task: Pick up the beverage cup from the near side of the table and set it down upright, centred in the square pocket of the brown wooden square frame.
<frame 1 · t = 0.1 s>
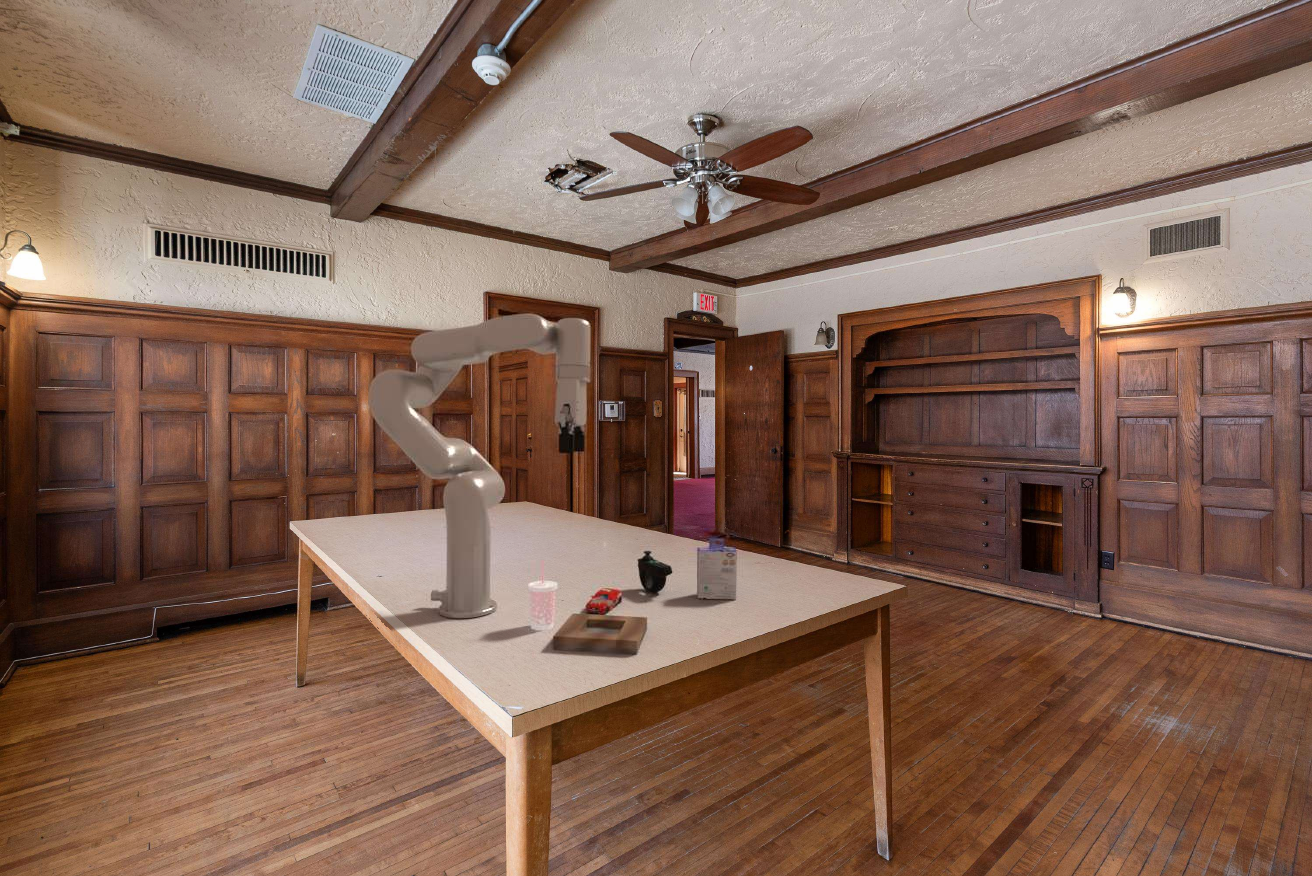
hand: (572, 452, 130), 37 cm above the table, tool pointing down, fingers open, 9 cm apart
race car: (604, 608, 138), on the table
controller: (653, 593, 150), on the table
beverage cup: (542, 627, 123), on the table
brown wooden square frame: (602, 638, 116), on the table
ink cartridge box: (716, 597, 148), on the table
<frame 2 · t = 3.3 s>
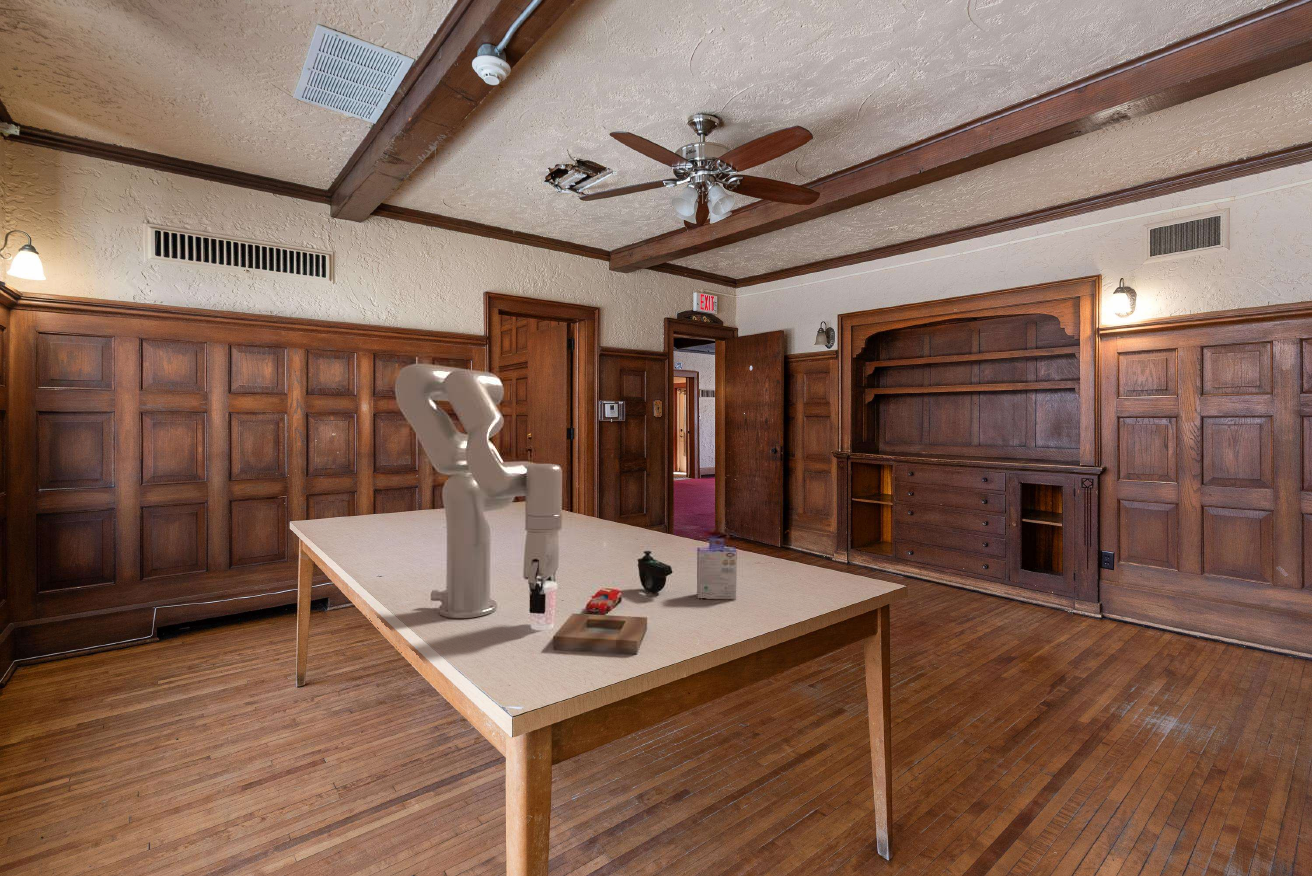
hand: (542, 607, 123), 4 cm above the table, tool pointing down, fingers closed on beverage cup, 6 cm apart
beverage cup: (542, 627, 123), on the table, touching gripper
everything else where it was.
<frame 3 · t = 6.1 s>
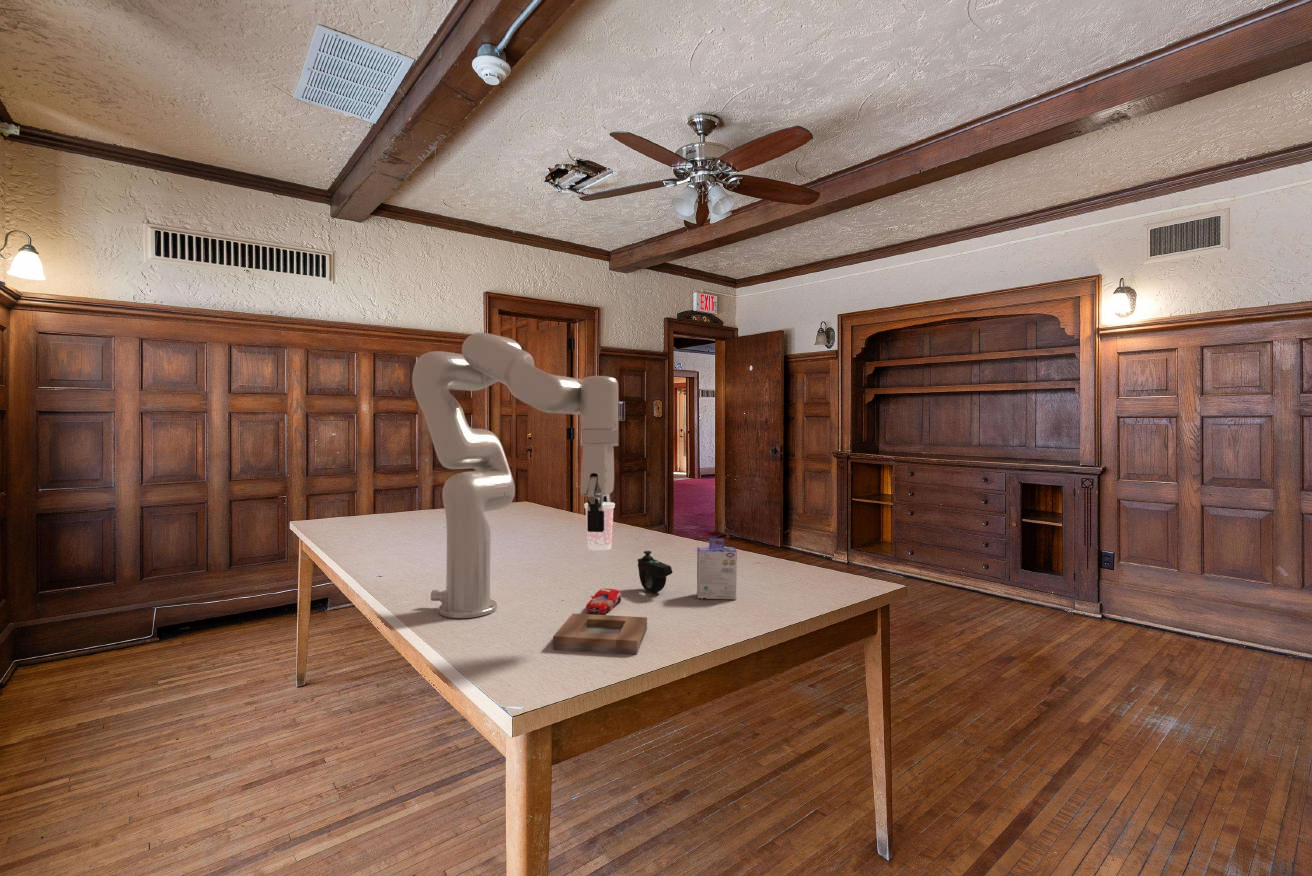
hand: (599, 528, 117), 22 cm above the table, tool pointing down, fingers closed on beverage cup, 6 cm apart
beverage cup: (599, 549, 117), point 18 cm above the table, touching gripper
everything else where it was.
when the fingers open (6 cm above the table, at t = 8.8 s): beverage cup stays where it is, resting on brown wooden square frame.
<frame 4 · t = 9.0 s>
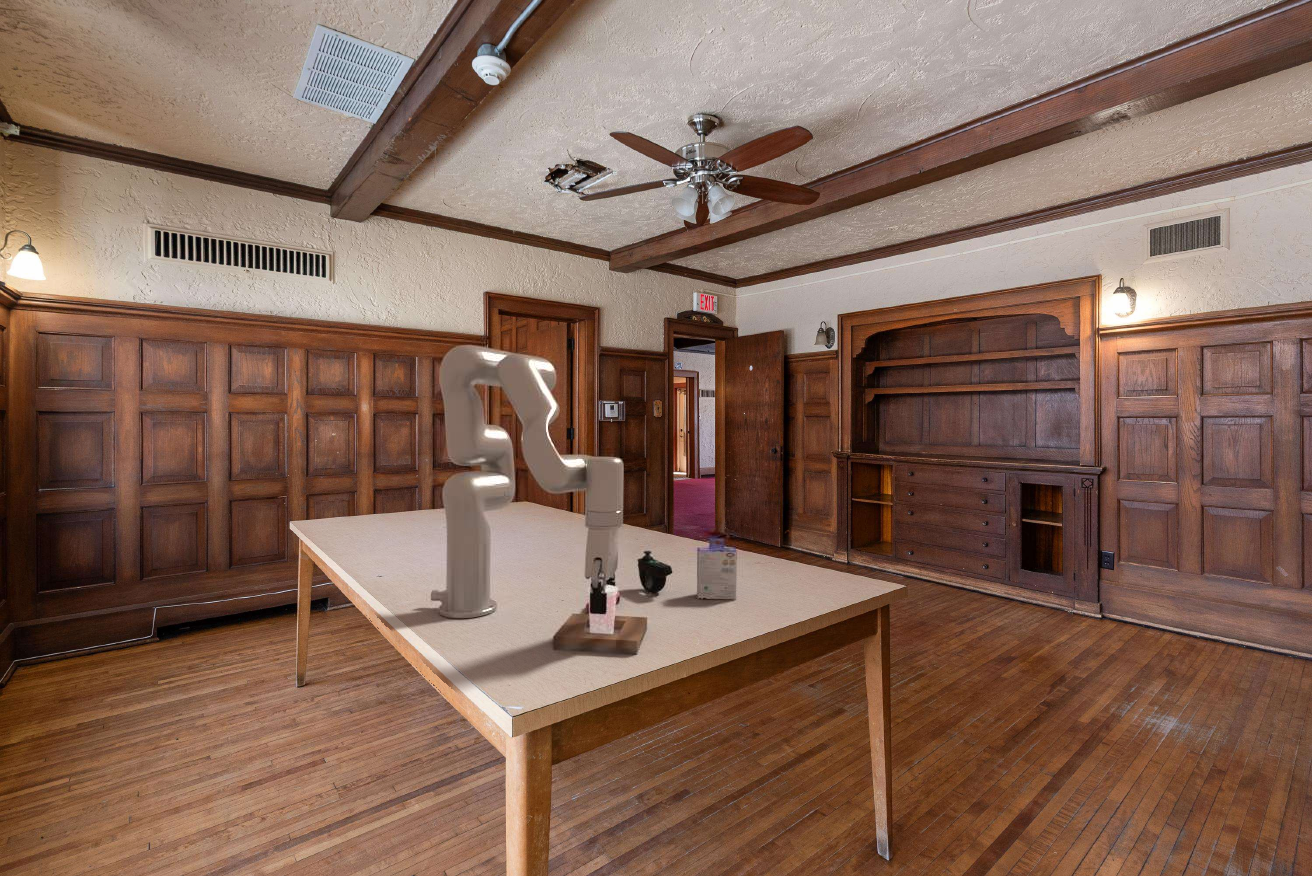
hand: (602, 606, 116), 6 cm above the table, tool pointing down, fingers open, 8 cm apart
beverage cup: (601, 634, 117), point 1 cm above the table, touching brown wooden square frame
everything else where it was.
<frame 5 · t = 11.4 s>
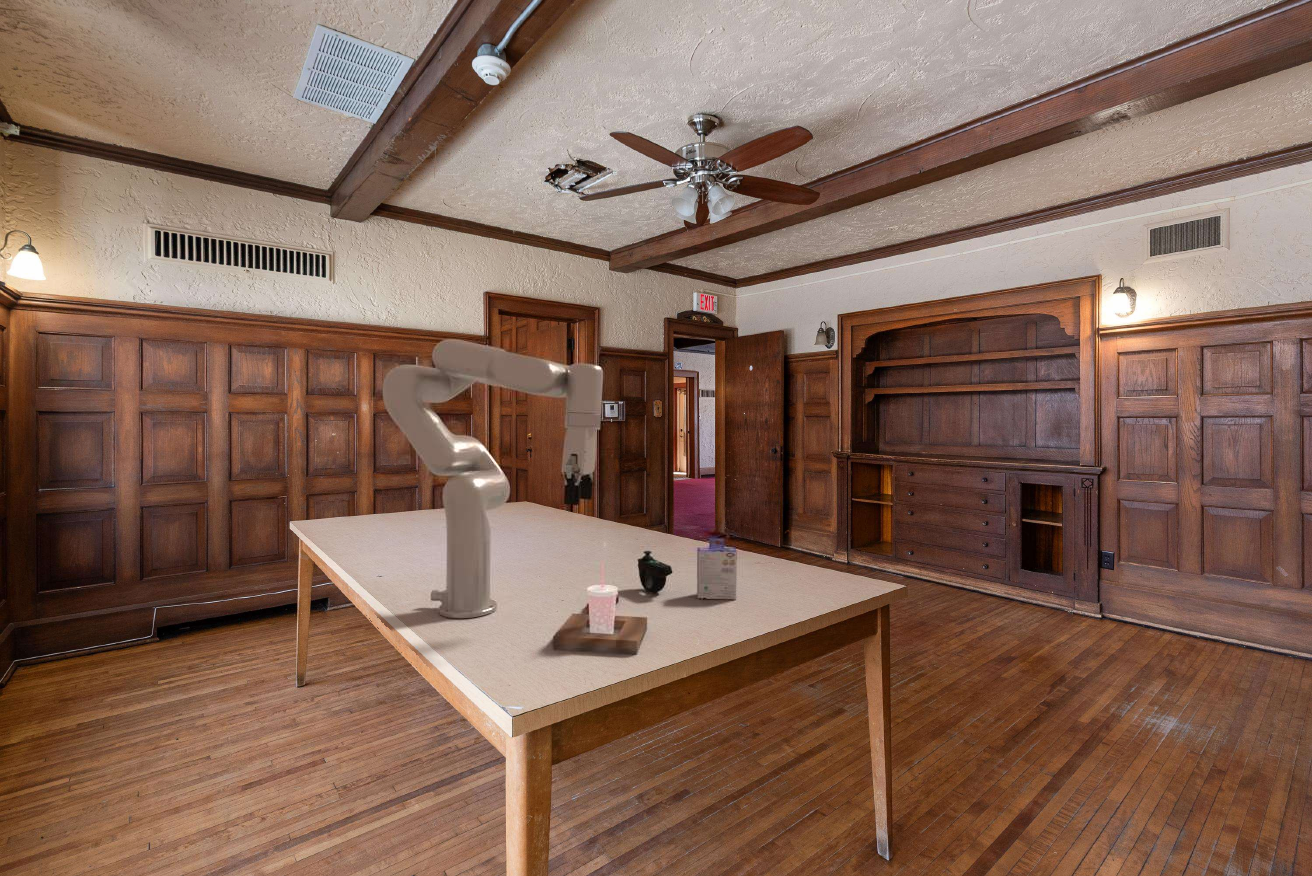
hand: (578, 501, 126), 26 cm above the table, tool pointing down, fingers open, 9 cm apart
nothing on the table moved.
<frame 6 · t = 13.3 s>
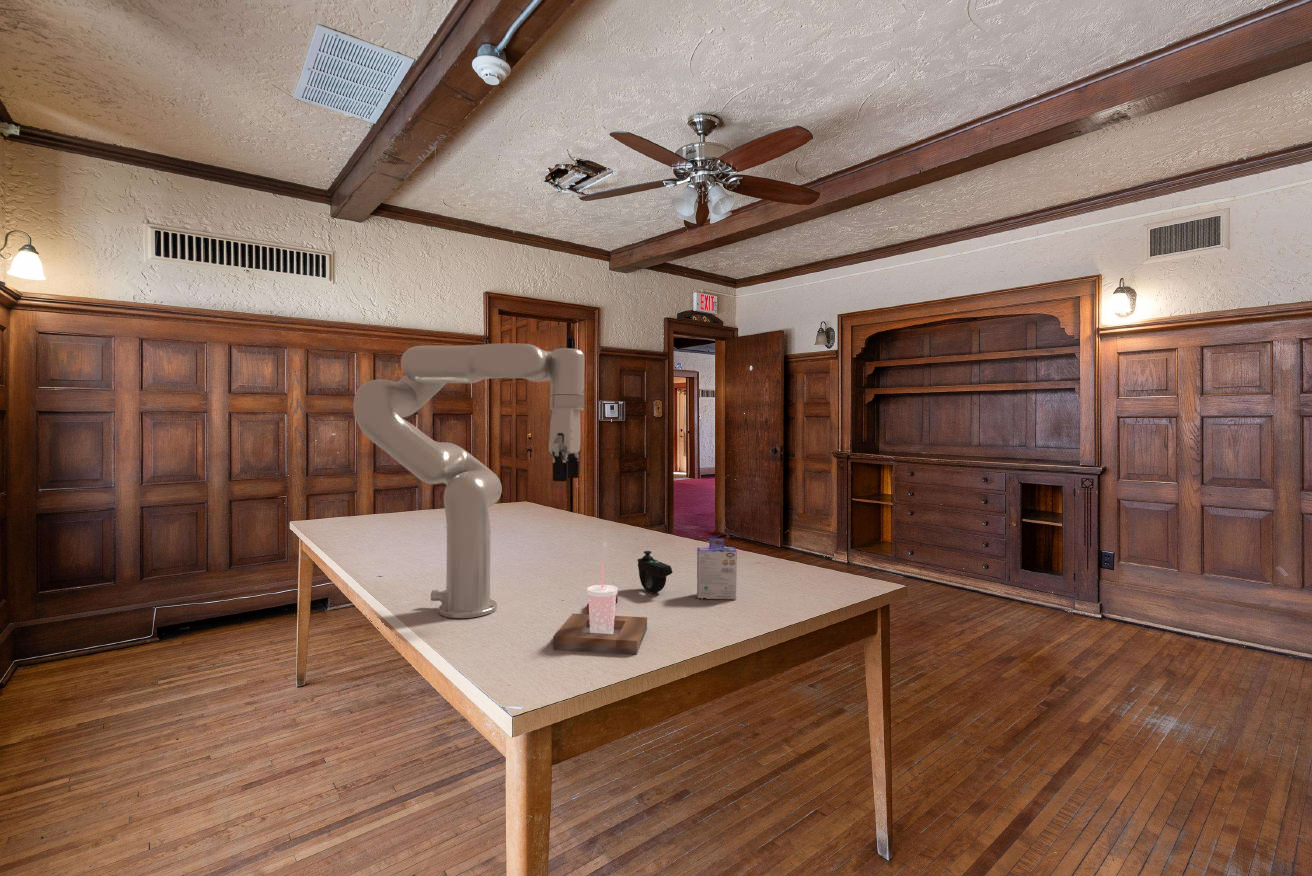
hand: (566, 479, 132), 30 cm above the table, tool pointing down, fingers open, 9 cm apart
nothing on the table moved.
at the end: beverage cup 0.2 cm off-centre on the brown wooden square frame, point 0.8 cm above the brown wooden square frame's base; beverage cup tilted 0°; the gripper is holding nothing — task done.
